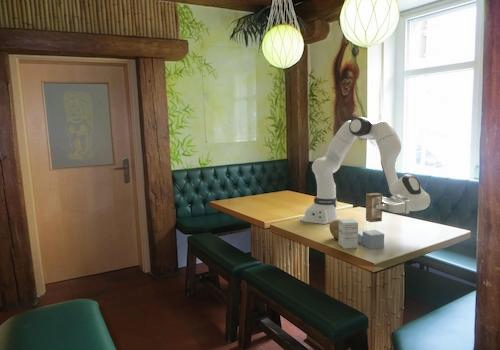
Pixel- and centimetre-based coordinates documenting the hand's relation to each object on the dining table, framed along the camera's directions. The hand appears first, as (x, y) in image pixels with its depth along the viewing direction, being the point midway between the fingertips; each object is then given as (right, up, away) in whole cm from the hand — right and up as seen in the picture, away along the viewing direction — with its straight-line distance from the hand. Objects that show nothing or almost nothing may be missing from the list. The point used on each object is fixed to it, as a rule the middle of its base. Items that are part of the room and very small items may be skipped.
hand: (372, 205), depth 182 cm
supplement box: (-11, -20, +4) cm, 23 cm away
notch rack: (0, -19, +7) cm, 20 cm away
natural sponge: (-13, -18, +15) cm, 27 cm away
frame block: (+1, -7, +1) cm, 8 cm away
